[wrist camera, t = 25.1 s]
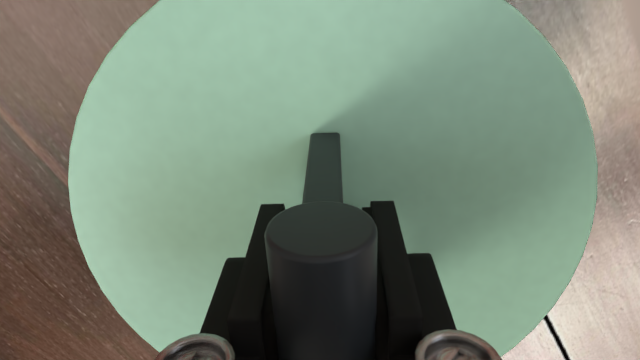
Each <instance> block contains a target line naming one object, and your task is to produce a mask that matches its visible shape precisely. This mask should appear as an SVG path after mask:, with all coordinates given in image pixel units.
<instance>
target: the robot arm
mask: <svg viewBox="0 0 640 360" xmlns="http://www.w3.org/2000/svg"><path fill="white" fill-rule="evenodd" d="M284 210H286V209H285V205H284V204H261V206H260V209H259V212H258V216H257V219H256V223H255V226H254V229H253V233H252V236H251V240H250V243H249V246H248V250H247V253H246V257H234V258H227V259H226V261H225V263H224V266H223V269H222V272H221V275H220V277H219V280H218V283H217V286H216V289H215V291H214V294H213V297H212V300H211V303H210V305H209V308H208V311H207V314H206V317H205V319H204V322H203V325H202V328H201V331H200V333H199V334H192V335H189V336H186V337H183V338H180V339H178V340H176V341H175V342H173V343H171V344H169V345H168V346H167V347H166V348H164V349H163V350H162V351H161V352H160V353H159V354H158V355H157V357H156V358H155V360H279V357H278V349H277V340H276V331H275V324H274V316H273V307H272V298H271V290H270V281H269V272H268V263H267V254H266V246H265V237H264V236H265V231H266V228H267V225H268V224H269V222H270V221H271V220H272V218H273V217H275V216H276V215H277V214H279V213H280V212H282V211H284ZM362 210H363V211H365V212H366V213H368V214H369V215H370V216H371V217H372V219H373V220H374V222H375V224H376V227H377V232H378V239H377V314H376V326H375V360H502V359H501V357H500V356H499V354H498V353H497V351H496V350H495V349H494V348H493V347H492V346H491V345H490V344H489V343H488V342H486V341H485V340H483V339H482V338H480V337H478V336H476V335H474V334H471V333H468V332H465V331H461V330H457V329H456V326H455V323H454V320H453V317H452V314H451V311H450V308H449V305H448V302H447V299H446V296H445V293H444V290H443V287H442V284H441V281H440V279H439V276H438V273H437V270H436V267H435V264H434V261H433V258H432V256H431V254H430V253H411V254H407V251H406V247H405V243H404V239H403V235H402V232H401V228H400V224H399V220H398V216H397V212H396V208H395V204H394V201H371V202H370V207H362Z"/></svg>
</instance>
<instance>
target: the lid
mask: <svg viewBox="0 0 640 360" xmlns="http://www.w3.org/2000/svg"><path fill="white" fill-rule="evenodd" d="M597 173H598V164H597V157H596V150H595V143H594V136H593V131H592V127H591V124H590V121H589V118H588V115H587V111H586V108H585V105H584V102H583V99H582V97H581V95H580V93H579V91H578V89H577V87H576V85H575V83H574V81H573V79H572V77H571V75H570V73H569V71H568V69H567V67H566V65H565V64H564V63H563V61H562V60H561V59H560V57H559V56H558V54H557V53H556V52H555V50H554V49H553V48H552V46H551V45H550V43H549V42H548V41H547V39H546V38H545V37H544V36H543V35H542V34H541V33H540V32H539V31H538V30H537V29H536V28H535V27H534V26H533V25H532V24H531V23H530V22H529V21H528V20H527V19H526V18H525V17H524V16H523V15H522V14H521V13H520V12H519V11H518V10H517V9H516V8H515V7H513V6H512V5H511V4H509V3H508V2H506V1H505V0H159V1H158V2H157V3H156V4H155V5H153V6H152V7H151V8H150V9H149V10H148V11H147V12H146V13H145V14H143V15H142V16H141V17H140V18H139V19H138V20H137V21H136V22H134V23H133V24H132V25H131V26H130V27H129V28H128V30H127V31H126V32H125V33H124V34H123V36H122V37H121V38H120V39H119V41H118V42H117V43H116V44H115V45H114V47H113V48H112V49H111V50H110V52H109V53H108V54H107V55H106V57H105V59H104V61H103V62H102V64H101V66H100V67H99V69H98V71H97V73H96V74H95V76H94V78H93V79H92V81H91V83H90V85H89V87H88V89H87V92H86V95H85V97H84V100H83V102H82V105H81V108H80V110H79V113H78V115H77V118H76V123H75V128H74V133H73V137H72V142H71V147H70V156H69V174H68V185H69V195H70V206H71V213H72V217H73V221H74V225H75V229H76V233H77V238H78V241H79V244H80V246H81V249H82V251H83V254H84V256H85V259H86V261H87V264H88V266H89V268H90V270H91V272H92V273H93V275H94V277H95V279H96V281H97V282H98V284H99V286H100V288H101V289H102V291H103V293H104V294H105V295H106V297H107V298H108V299H109V301H110V302H111V303H112V305H113V306H114V308H115V309H116V310H117V312H118V313H119V314H120V315H121V316H122V317H123V319H124V320H125V321H126V322H127V323H128V324H129V325H130V326H131V327H132V328H133V329H134V330H135V331H136V332H137V333H138V335H140V336H141V337H142V338H143V339H144V340H146V341H147V342H148V343H149V344H150V345H151V346H153V347H154V348H155V349H156V350H157V351H158V352H161V351H162V350H163V349H164V348H166V347H167V346H168V345H169V344H171V343H173V342H175V341H176V340H178V339H180V338H183V337H186V336H189V335H192V334H199V333H200V331H201V328H202V325H203V322H204V319H205V317H206V314H207V311H208V308H209V305H210V303H211V300H212V297H213V294H214V291H215V289H216V286H217V283H218V280H219V277H220V275H221V272H222V269H223V266H224V263H225V261H226V259H227V258H234V257H246V253H247V250H248V246H249V243H250V240H251V236H252V233H253V229H254V226H255V223H256V219H257V216H258V212H259V209H260V206H261V204H284V205H285V209H286V210H284V211H282V212H280V213H279V214H277V215H276V216H275V217H273V218H272V220H271V221H270V222H269V224H268V225H267V228H266V231H265V236H264V237H265V246H266V254H267V263H268V272H269V281H270V290H271V298H272V307H273V316H274V324H275V331H276V340H277V349H278V357H279V360H375V326H376V314H377V239H378V232H377V227H376V224H375V222H374V220H373V219H372V217H371V216H370V215H369V214H368V213H366V212H365V211H363V210H362V207H370V202H371V201H394V204H395V208H396V212H397V216H398V220H399V224H400V228H401V232H402V235H403V239H404V243H405V247H406V251H407V254H411V253H430V254H431V256H432V258H433V261H434V264H435V267H436V270H437V273H438V276H439V279H440V281H441V284H442V287H443V290H444V293H445V296H446V299H447V302H448V305H449V308H450V311H451V314H452V317H453V320H454V323H455V326H456V329H457V330H461V331H465V332H468V333H471V334H474V335H476V336H478V337H480V338H482V339H483V340H485V341H486V342H488V343H489V344H490V345H491V346H492V347H493V348H494V349H495V350H496V351H497V353H498V354H499V356H500V357H501V356H503V355H504V354H505V353H507V352H508V351H509V350H511V349H512V348H514V347H515V346H516V345H517V344H518V343H519V342H520V341H521V340H522V339H523V338H525V337H526V336H527V335H528V334H529V333H530V332H531V331H532V330H533V329H534V328H535V327H536V326H537V325H538V324H539V323H540V322H541V320H542V319H543V318H544V317H545V316H546V315H547V313H548V312H549V311H550V310H551V309H552V308H553V306H554V305H555V303H556V302H557V300H558V299H559V297H560V296H561V294H562V293H563V291H564V290H565V288H566V287H567V285H568V284H569V282H570V280H571V278H572V276H573V274H574V272H575V270H576V268H577V266H578V264H579V262H580V260H581V258H582V256H583V253H584V250H585V247H586V244H587V241H588V238H589V235H590V231H591V228H592V224H593V218H594V212H595V206H596V200H597Z"/></svg>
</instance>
